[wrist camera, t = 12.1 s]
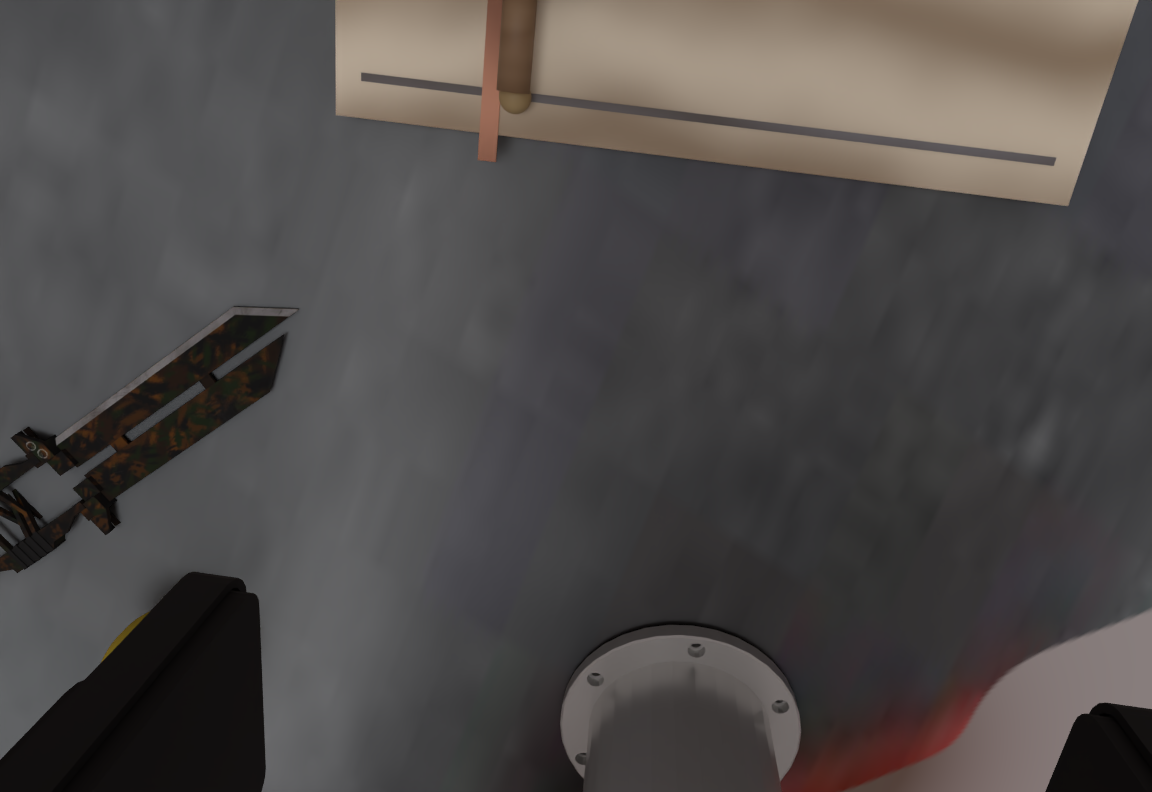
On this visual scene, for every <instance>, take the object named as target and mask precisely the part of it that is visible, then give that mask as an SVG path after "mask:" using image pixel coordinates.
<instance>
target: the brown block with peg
mask: <svg viewBox="0 0 1152 792" xmlns="http://www.w3.org/2000/svg"><path fill="white" fill-rule="evenodd" d="M536 12H537V0H503V1H502V15H501V30H500V45H499V59H498V74H497V89H496V90H498V91H499V101H500V104H501V106H502V107H503V109H504V110H505V111H507V112H509V113H511V114H520V113H522V112H524V111H525V110H527V108H528V107H529V105H530V103H531V97H532V96H531V91H530V84H531V72H532V60H533V48H534V36H535V24H536Z"/></svg>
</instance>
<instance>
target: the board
mask: <svg viewBox="0 0 1152 792" xmlns="http://www.w3.org/2000/svg"><path fill="white" fill-rule="evenodd" d="M502 1H503V0H336V115H341V116H349V117H357V118H365V119H373V120H381V121H389V122H397V123H405V124H413V125H421V126H429V127H437V128H445V129H453V130H461V131H469V132H477V133H479V149H478V160H483V161H491V162H496V156H497V142H498V135H501V136H509V137H517V138H525V139H533V140H541V141H549V142H557V143H565V144H573V145H582V146H590V147H598V148H606V149H614V150H622V151H630V152H638V153H646V154H654V155H662V156H670V157H678V158H686V159H694V160H702V161H710V162H718V163H726V164H734V165H742V166H750V167H758V168H766V169H774V170H782V171H790V172H798V173H806V174H814V175H822V176H830V177H838V178H846V179H855V180H863V181H871V182H879V183H887V184H895V185H903V186H911V187H919V188H927V189H935V190H943V191H951V192H959V193H967V194H975V195H983V196H991V197H999V198H1007V199H1015V200H1023V201H1031V202H1039V203H1047V204H1055V205H1063V206H1068V204H1069V201H1070V198H1071V195H1072V193H1073V190H1074V187H1075V184H1076V181H1077V178H1078V175H1079V172H1080V169H1081V166H1082V163H1083V160H1084V157H1085V155H1086V152H1087V149H1088V146H1089V143H1090V140H1091V137H1092V134H1093V131H1094V128H1095V125H1096V122H1097V119H1098V117H1099V114H1100V111H1101V108H1102V105H1103V102H1104V99H1105V96H1106V93H1107V90H1108V87H1109V84H1110V81H1111V78H1112V76H1113V73H1114V70H1115V67H1116V64H1117V61H1118V58H1119V55H1120V52H1121V49H1122V46H1123V43H1124V40H1125V38H1126V35H1127V32H1128V29H1129V26H1130V23H1131V20H1132V17H1133V14H1134V11H1135V8H1136V5H1137V2H1138V0H537V12H536V24H535V36H534V48H533V60H532V72H531V84H530V91H531V96H532V97H531V103H530V105H529V107H528V108H527V110H525V111H524V112H522V113H520V114H511V113H509V112H507V111H505V110H504V109H503V107H502V106H501V104H500V101H499V91H498V90H496V89H497V74H498V59H499V45H500V30H501V15H502Z"/></svg>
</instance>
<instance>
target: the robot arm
mask: <svg viewBox="0 0 1152 792" xmlns="http://www.w3.org/2000/svg"><path fill="white" fill-rule="evenodd" d="M560 728H561V737H562V742H563V745H564V748H565V750H566V753H567V756H568V758H569V760H570V761H571V763H572V764H573V766H574V768H575V769H576V771H577V772H578V773H579V774H580V776H581V777H582V778H583V779H584V785H583V792H782V790H781V784H780V782H781V780H782V779H783V777H784V776H785V775H786V773H787V772H788V771H789V769H790V768H791V766H792V764H793V762H794V759H795V757H796V755H797V752H798V750H799V743H800V737H801V725H800V715H799V711H798V707H797V703H796V699H795V695H794V693H793V691H792V689H791V687H790V685H789V683H788V681H787V679H786V677H785V676H784V674H783V673H782V672H781V671H780V670H779V668H778V667H777V666H776V665H775V663H774V662H773V661H772V660H770V659H769V658H768V657H767V656H766V655H764V654H763V653H762V652H761V651H759V650H758V649H757V648H755V647H754V646H752V645H750V644H748V643H746V642H745V641H743V640H741V639H739V638H737V637H735V636H732V635H729V634H726V633H723V632H720V631H718V630H714V629H709V628H703V627H698V626H692V625H663V626H656V627H648V628H643V629H640V630H636V631H633V632H630V633H626V634H623V635H621V636H619V637H617V638H615V639H613V640H611V641H609V642H607V643H605V644H603V645H602V646H601V647H599V648H598V649H597V650H595V651H594V652H593V653H591V654H590V655H589V656H588V657H587V658H586V659H585V660H584V661H583V662H582V663H581V665H580V666H579V667H578V668H577V669H576V670H575V672H574V674H573V676H572V678H571V679H570V681H569V683H568V685H567V687H566V691H565V694H564V698H563V702H562V710H561V719H560ZM265 770H266V764H265V739H264V714H263V688H262V663H261V638H260V613H259V600H258V597H257V595H255V594H254V593H247V592H246V586H245V584H244V582H243V580H241V579H239V578H234V577H227V576H220V575H213V574H206V573H199V572H191V573H188V574H187V575H185V576H184V577H183V578H182V579H181V580H180V581H179V582H178V583H177V584H176V585H175V586H174V587H173V588H172V589H171V590H170V591H169V592H168V593H167V594H166V595H165V596H164V598H163V599H162V600H161V601H160V602H159V603H158V604H157V605H156V606H155V607H154V608H153V609H152V610H151V611H150V612H149V613H148V614H147V615H146V616H145V617H144V618H143V619H142V621H141V622H140V623H139V624H138V625H137V626H136V627H135V628H134V629H133V630H132V631H131V632H130V633H129V634H128V635H127V636H126V637H125V638H124V639H123V640H122V641H121V642H120V644H119V645H118V646H117V647H116V648H115V649H114V650H113V651H112V652H111V653H110V654H109V655H108V656H107V657H106V658H105V659H104V660H103V661H102V662H101V663H100V664H99V665H98V667H97V668H96V669H95V670H94V671H93V672H92V673H91V674H90V675H89V676H88V677H87V678H86V679H85V680H83V681H81V682H78V683H77V684H75V685H74V686H73V687H72V688H71V689H69V690H68V691H67V692H66V693H65V694H64V695H63V696H62V697H61V698H60V699H59V700H58V701H57V702H56V703H55V704H54V705H53V706H52V707H51V708H50V709H49V710H48V711H47V712H46V713H45V714H44V715H43V716H42V717H41V718H40V719H39V720H38V721H37V722H36V724H35V725H34V726H33V727H32V728H31V729H30V730H29V731H28V732H27V733H26V734H25V735H24V736H23V737H22V738H21V739H20V740H19V741H18V742H17V743H16V744H15V745H14V746H13V747H12V748H11V749H10V750H9V751H8V752H7V753H6V755H5V756H4V757H3V758H2V759H1V760H0V792H261V791H262V787H263V784H264V779H265ZM1046 792H1152V709H1146V708H1138V707H1132V706H1125V705H1118V704H1111V703H1099V704H1097V705H1096V706H1095V707H1094V708H1092V710H1091V711H1090V713H1089V714H1081V715H1080V716H1079V717H1077V719H1076V720H1075V722H1074V724H1073V726H1072V729H1071V731H1070V734H1069V736H1068V739H1067V741H1066V743H1065V746H1064V748H1063V750H1062V753H1061V755H1060V758H1059V760H1058V763H1057V765H1056V767H1055V770H1054V772H1053V775H1052V777H1051V779H1050V782H1049V784H1048V787H1047V789H1046Z"/></svg>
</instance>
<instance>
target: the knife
mask: <svg viewBox="0 0 1152 792" xmlns="http://www.w3.org/2000/svg"><path fill="white" fill-rule="evenodd" d="M297 310H299V309H281V308H251V307H232V308H231V309H230V310H228V311H227V312H226V313H224V314H223V315H222V316H220V317H219V318H218V319H216V320H215V321H213V322H212V323H211V324H209V325H208V326H207V327H205V328H204V329H203V330H201V331H200V332H199V333H197V334H196V335H194V336H193V337H192V338H190V339H189V340H188V341H186V342H185V343H184V344H182V345H181V346H180V347H178V348H177V349H175V350H174V351H173V352H171V353H170V354H169V355H167V356H166V357H165V358H163V359H162V360H161V361H159V362H158V363H157V364H155V365H154V366H152V367H151V368H150V369H148V370H147V371H146V372H144V373H143V374H142V375H140V376H139V377H138V378H136V379H135V380H133V381H132V382H131V383H129V384H128V385H127V386H125V387H124V388H123V389H121V390H120V391H119V392H117V393H116V394H114V395H113V396H112V397H110V398H109V399H108V400H106V401H105V402H104V403H102V404H101V405H100V406H98V407H97V408H96V409H94V410H93V411H91V412H90V413H89V414H87V415H86V416H85V417H83V418H82V419H81V420H79V421H78V422H77V423H75V424H74V425H72V426H71V427H70V428H68V429H67V430H66V431H64V432H63V433H62V434H60V435H59V436H58V437H57V436H56V435H54V436H52V437H51V438H49V439H48V440H46V441H44V440H41V439H40V438H39V437H38V436H37V435H36V434H35V433H34V432H33V431H32V430H31V429H30V428H29V427H27V428H26V429H24V430H23V431H24V432H25V433H26V434H27V435H28V436H27V435H25V434H24V433H23V432H22V431H20V432H19V433H17V434H15V435H14V436H13V437H11V439H12V440H13V441H14V442H15V443H16V444H17V445H18V446H19V447H20V448H21V449H22V450H23V451H24V452H25V453H26V454H27V455H26V457H27V458H28V460H27V461H25V462H23V463H17V464H11V465H5V466H3V467H2V468H1V469H0V500H1V501H3V502H4V503H6V504H8V505H9V506H11V508H12V511H13V513H12V512H10V511H8V510H6V509H4V508H2V507H0V515H1V516H2V517H4V518H6V519H8V520H10V521H12V522H14V523H16V524H18V525H20V527H21V530H22V532H23V534H24V536H25V539H24V540H22V541H21V542H20V543H18V544H17V545H15V546H14V547H13V546H12V545H11V544H10V543H9V542H8V541H7V540H6V539H5V538H4V537H3V536H2V535H1V534H0V546H1V547H2V548H3V549H4V550H5V551H6V552H7V553H6V554H4V555H3V556H2V557H0V571H6V570H13V569H14V570H15V571H16V572H17V573H18V572H20V571H21V570H23V569H24V570H25V569H26V568H28V567H29V566H30V565H32V564H34V563H35V562H36V561H38V560H40V559H41V558H42V557H44V556H46V555H47V554H48V553H50V552H51V551H53V550H54V549H56V548H57V547H58V546H59V545H60V544H62V543H63V542H64V541H65V534H66V533H67V532H69V531H70V528H71V526H72V523H73V521H74V519H75V516H76V515H77V514H78V513H80V512H81V513H82V514H83V515H84V516H85V517H86V519H87V520H88V521H89V520H91V521H92V522H93V523H94V524H95V525H96V526H97V527H98V528H99V529H100V530H101V531H102V532H103V533H104V534H105V535H107V534H108V533H110V532H111V531H112V530H113V529H114V528H115V527H114V526H113V525H112V523H113V524H114V525H115V526H117V525H118V524H120V523H121V522H120V521H119V520H118V519H117V518H116V517H115V516H114V515H113V514H112V513H111V512H110V510H109V507H110V506H111V505H112V504H113V503H114V502H115V501H117V499H116V498H115V497H117V496H118V495H120V494H121V493H123V492H124V491H125V490H127V489H128V488H130V487H131V486H133V485H134V484H136V483H137V482H139V481H140V480H142V479H143V478H144V477H146V476H147V475H149V474H150V473H152V472H153V471H155V470H156V469H158V468H159V467H161V466H162V465H163V464H165V463H166V462H168V461H169V460H171V459H172V458H174V457H175V456H177V455H178V454H180V453H181V452H182V451H184V450H185V449H187V448H188V447H190V446H191V445H193V444H194V443H196V442H197V441H199V440H200V439H201V438H203V437H204V436H206V435H207V434H209V433H210V432H212V431H213V430H215V429H216V428H218V427H219V426H221V425H222V424H223V423H225V422H226V421H228V420H229V419H231V418H232V417H234V416H235V415H237V414H238V413H240V412H241V411H242V410H244V409H245V408H247V407H248V406H250V405H251V404H253V403H254V402H256V401H257V400H259V399H260V398H261V397H263V396H264V395H266V394H267V393H269V392H270V389H271V385H272V381H273V377H274V373H275V369H276V365H277V361H278V357H279V353H280V349H281V345H282V341H283V337H284V335H282V336H281V337H279V338H278V339H276V340H275V341H274V342H272V343H271V344H269V345H268V346H266V347H265V348H264V349H262V350H261V351H259V352H258V353H257V354H255V355H254V356H252V357H251V358H250V359H248V360H247V361H245V362H244V363H242V364H241V365H240V366H238V367H237V368H235V369H234V370H233V371H231V372H230V373H228V374H227V375H225V376H224V377H223V378H221V379H220V380H218V381H217V382H216V380H215V379H214V378H213V376H212V375H211V374H210V372H212V371H213V370H215V369H216V368H218V367H219V366H220V365H222V364H223V363H225V362H226V361H227V360H229V359H230V358H232V357H233V356H234V355H236V354H237V353H239V352H240V351H241V350H243V349H244V348H246V347H247V346H248V345H250V344H251V343H253V342H254V341H255V340H257V339H258V338H260V337H261V336H262V335H264V334H265V333H267V332H268V331H269V330H271V329H272V328H274V327H275V326H276V325H278V324H279V323H281V322H282V321H283V320H285V319H286V318H288V317H289V316H290V315H292V314H293V313H295V312H296V311H297ZM198 381H200V382H201V384H202V385H203V386H204V387H205V389H206V390H204V391H203V392H201V393H200V394H199V395H197V396H196V397H194V398H193V399H192V400H190V401H189V402H187V403H186V404H184V405H183V406H182V407H180V408H179V409H177V410H176V411H175V412H173V413H172V414H170V415H169V416H167V417H166V418H165V419H163V420H162V421H160V422H159V423H158V424H156V425H155V426H153V427H152V428H150V429H149V430H148V431H146V432H145V433H143V434H142V435H141V436H139V437H138V438H136V439H135V440H134V441H132V442H131V443H129V442H128V441H127V440H126V439H125V438H124V437H123V435H124V434H125V433H126V432H128V431H129V430H131V429H132V428H133V427H135V426H136V425H138V424H139V423H140V422H142V421H143V420H145V419H146V418H147V417H149V416H150V415H152V414H153V413H154V412H156V411H157V410H159V409H160V408H161V407H163V406H164V405H166V404H167V403H168V402H170V401H171V400H173V399H174V398H175V397H177V396H178V395H180V394H181V393H182V392H184V391H185V390H187V389H188V388H189V387H191V386H192V385H194V384H195V383H196V382H198ZM108 445H111V446H112V447H113V448H114V449H115V450H116V451H117V453H115V454H114V455H112V456H111V457H109V458H108V459H107V460H105V461H104V462H102V463H101V464H100V465H98V466H97V467H95V468H94V469H92V470H91V471H90V472H88V473H87V474H86V475H84V476H85V477H86V479H85V480H84V481H82V482H81V483H80V484H78V485H77V486H76V487H74V488H73V489H74V491H75V492H76V493H77V494H78V495H79V496H80V497H81V498H82V500H81V501H80V502H78V503H77V504H76V505H74V506H73V507H72V508H71V509H69V510H68V511H66V512H65V513H64V514H62V515H61V516H59V517H58V518H56V519H55V520H53V521H52V522H51V523H49V524H48V525H46V526H45V527H43V528H42V529H39V527H38V524H37V522H36V520H35V518H34V516H35V517H37V518H39V519H40V518H42V517H43V516H42V515H41V514H40V513H39V512H38V511H37V510H36V509H35V508H34V507H33V506H31V505H29V504H28V503H27V501H26V499H25V498H24V497H23V496H22V495H21V494H20V493H19V492H18V491H17V490H16V489H14V490H13V491H12V492H13V494H14V496H15V498H16V500H15V499H14V498H13V497H12V496H11V495H10V494H8V495H7V494H6V493H4V492H3V491H2V489H4V488H5V487H6V486H8V485H9V484H10V483H12V482H13V481H14V480H16V479H17V478H19V477H20V476H21V475H23V474H24V473H25V472H27V471H28V470H30V469H31V468H32V467H34V466H36V467H37V468H39V467H40V466H42V465H43V464H44V463H46V462H47V463H48V464H49V465H50V466H51V467H52V468H53V469H54V470H55V471H56V472H57V473H58V474H59V475H60V476H61V475H62V474H64V473H65V472H66V471H68V470H69V469H71V468H72V467H73V466H76V467H79V466H80V465H82V464H83V463H84V462H86V461H87V460H89V459H90V458H91V457H93V456H94V455H96V454H97V453H98V452H100V451H101V450H103V449H104V448H105V447H107V446H108ZM33 515H34V516H33ZM93 517H94V518H93ZM111 522H112V523H111Z"/></svg>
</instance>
